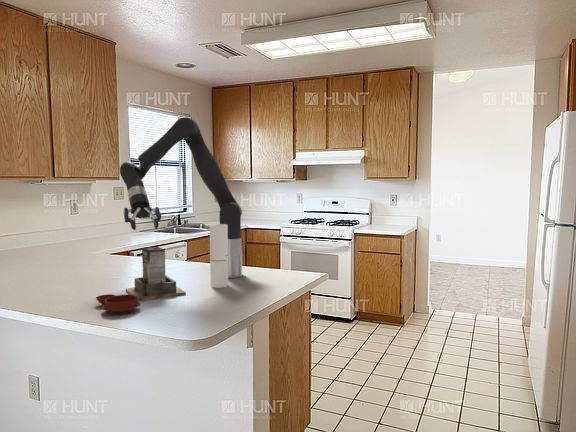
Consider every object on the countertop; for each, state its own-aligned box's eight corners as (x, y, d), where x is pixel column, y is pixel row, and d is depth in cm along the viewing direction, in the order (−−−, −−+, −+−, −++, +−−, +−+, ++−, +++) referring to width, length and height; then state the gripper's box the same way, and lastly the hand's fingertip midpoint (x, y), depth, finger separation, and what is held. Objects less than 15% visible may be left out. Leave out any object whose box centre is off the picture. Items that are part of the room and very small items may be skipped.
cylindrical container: (231, 284, 178) (230, 224, 177) (223, 288, 172) (222, 225, 170) (215, 283, 181) (215, 223, 179) (207, 287, 174) (206, 225, 172)
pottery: (112, 319, 133) (112, 305, 132) (85, 307, 146) (84, 294, 146) (147, 311, 141) (147, 298, 141) (118, 300, 155) (117, 288, 154)
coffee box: (142, 288, 167) (141, 247, 166) (159, 286, 170) (158, 246, 169) (149, 293, 159) (148, 250, 158) (166, 291, 163) (165, 249, 162)
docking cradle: (171, 285, 177) (171, 273, 177) (185, 294, 162) (185, 281, 161) (125, 290, 168) (125, 278, 167) (136, 301, 152) (135, 287, 152)
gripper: (121, 193, 177) (128, 223, 168) (157, 192, 184) (165, 221, 175) (119, 205, 181) (126, 235, 173) (154, 204, 189) (161, 233, 180)
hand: (145, 228), depth 174 cm, fingers open, 8 cm apart
